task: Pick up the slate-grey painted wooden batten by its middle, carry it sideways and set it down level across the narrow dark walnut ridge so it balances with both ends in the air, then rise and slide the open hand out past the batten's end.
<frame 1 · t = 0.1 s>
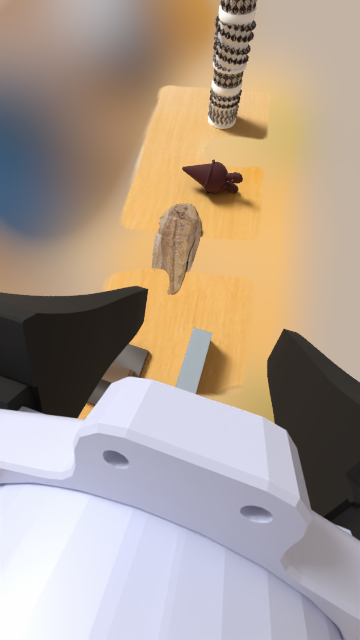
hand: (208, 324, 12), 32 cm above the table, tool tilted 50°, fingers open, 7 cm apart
fish fossil: (174, 248, 52), on the table
icecream: (209, 189, 58), on the table
batten: (183, 397, 41), on the table
white patterned cylinder: (221, 120, 67), on the table
fulcrum: (108, 371, 42), on the table
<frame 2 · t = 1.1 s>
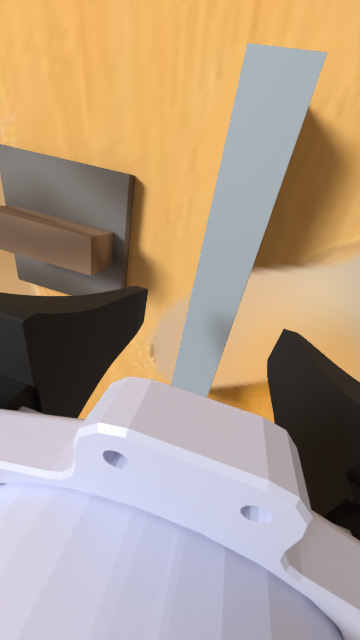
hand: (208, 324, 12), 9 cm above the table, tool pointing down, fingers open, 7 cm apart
batten: (221, 274, 20), on the table
fulcrum: (71, 234, 21), on the table
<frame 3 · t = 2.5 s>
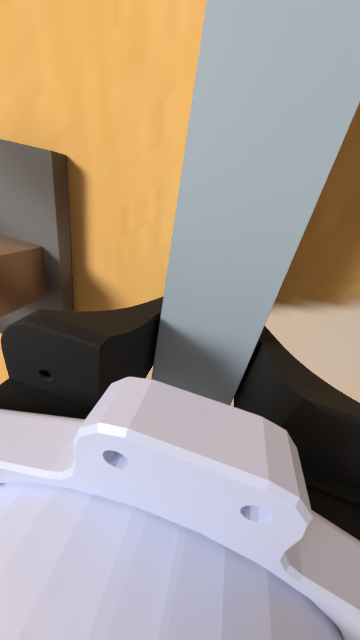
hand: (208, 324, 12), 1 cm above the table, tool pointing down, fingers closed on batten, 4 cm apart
batten: (211, 311, 13), on the table, touching gripper
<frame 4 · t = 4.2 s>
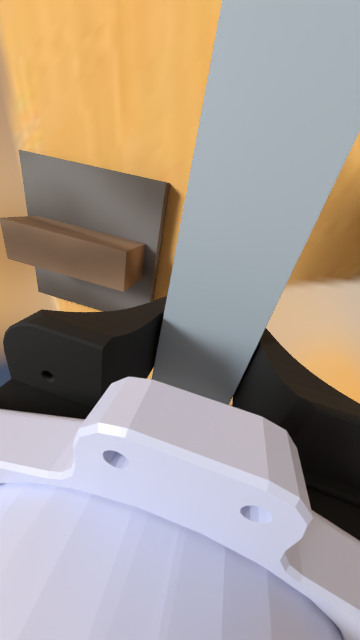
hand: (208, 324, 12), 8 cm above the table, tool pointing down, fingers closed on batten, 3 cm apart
batten: (212, 310, 13), point 7 cm above the table, touching gripper
fulcrum: (96, 245, 20), on the table
when the fingers open (7 cm above the table, at t = 5.7 s): batten stays where it is, resting on fulcrum.
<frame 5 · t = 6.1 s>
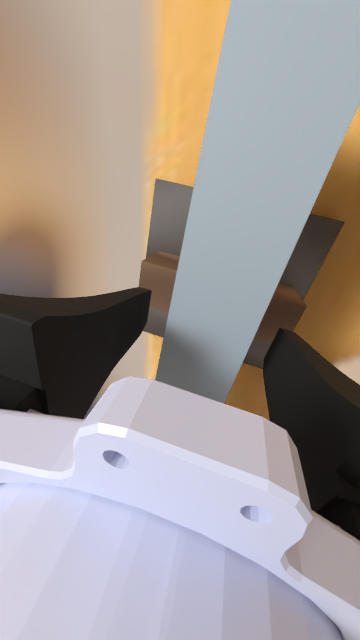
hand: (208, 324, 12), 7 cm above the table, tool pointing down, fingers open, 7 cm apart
batten: (213, 307, 14), point 5 cm above the table, touching fulcrum
fulcrum: (219, 283, 18), on the table
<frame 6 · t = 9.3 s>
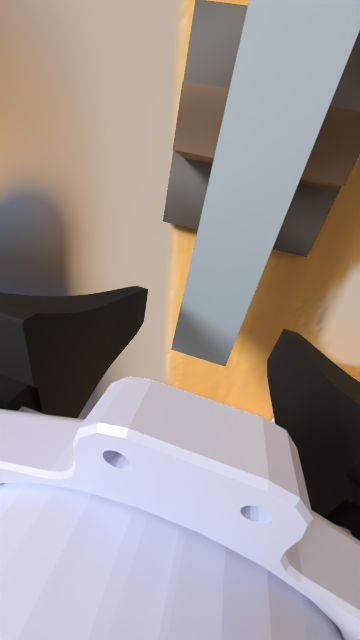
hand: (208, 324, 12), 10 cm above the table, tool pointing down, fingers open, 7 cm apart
batten: (264, 136, 12), point 4 cm above the table, touching fulcrum
fulcrum: (258, 151, 16), on the table
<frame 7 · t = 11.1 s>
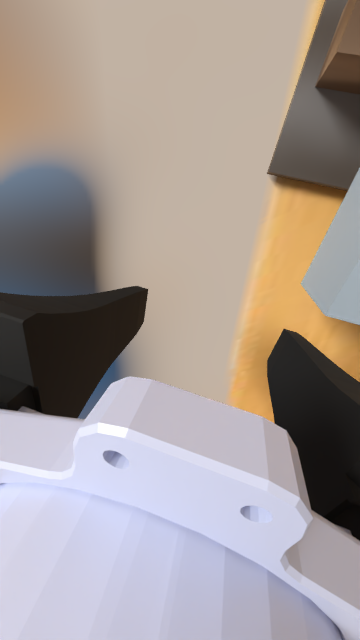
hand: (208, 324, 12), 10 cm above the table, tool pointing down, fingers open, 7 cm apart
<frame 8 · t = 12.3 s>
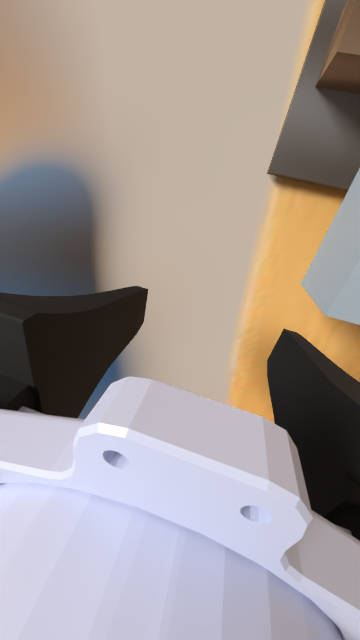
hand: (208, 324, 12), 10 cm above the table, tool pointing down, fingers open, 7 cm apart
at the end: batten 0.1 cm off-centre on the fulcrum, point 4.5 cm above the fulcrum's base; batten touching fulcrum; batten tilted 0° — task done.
